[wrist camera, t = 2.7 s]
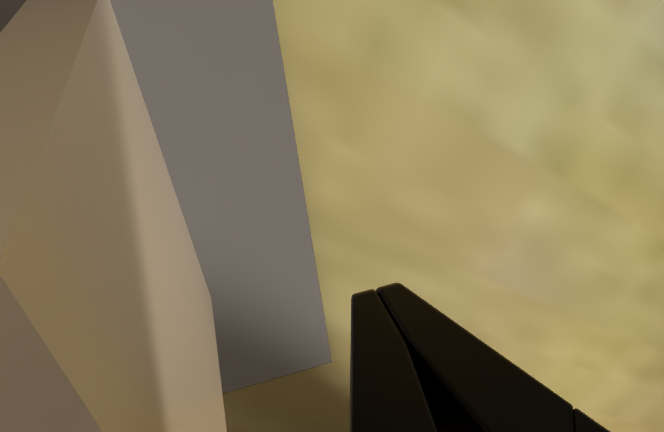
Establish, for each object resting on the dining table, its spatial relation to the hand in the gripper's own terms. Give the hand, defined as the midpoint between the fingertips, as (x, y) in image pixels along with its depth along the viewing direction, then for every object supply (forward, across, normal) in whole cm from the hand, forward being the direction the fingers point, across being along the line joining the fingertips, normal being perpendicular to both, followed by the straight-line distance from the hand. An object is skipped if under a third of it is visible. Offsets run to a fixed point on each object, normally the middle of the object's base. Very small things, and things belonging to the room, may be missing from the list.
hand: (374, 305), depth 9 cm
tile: (+6, +4, 0) cm, 7 cm away
